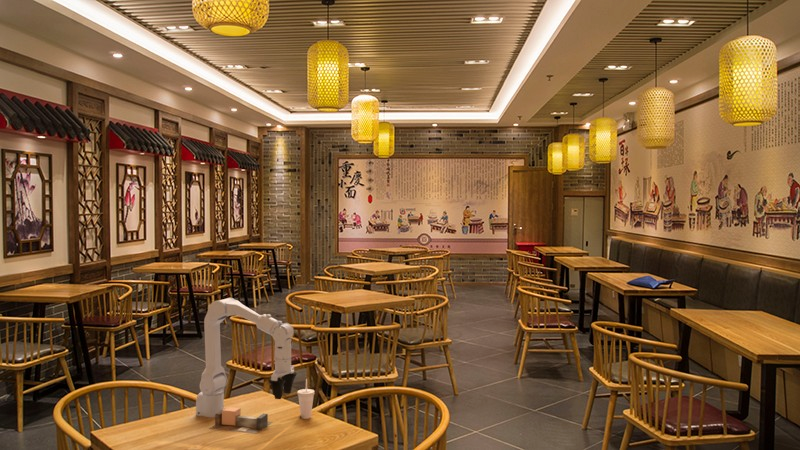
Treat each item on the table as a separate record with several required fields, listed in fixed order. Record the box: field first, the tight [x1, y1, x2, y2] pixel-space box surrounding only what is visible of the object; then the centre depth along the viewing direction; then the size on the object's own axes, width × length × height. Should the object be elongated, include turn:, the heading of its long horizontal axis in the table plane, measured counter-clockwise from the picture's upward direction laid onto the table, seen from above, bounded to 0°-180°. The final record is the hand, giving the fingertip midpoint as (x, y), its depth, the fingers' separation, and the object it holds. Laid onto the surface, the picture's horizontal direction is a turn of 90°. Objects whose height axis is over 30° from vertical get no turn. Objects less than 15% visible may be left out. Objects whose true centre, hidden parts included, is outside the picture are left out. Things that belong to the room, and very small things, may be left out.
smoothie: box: [296, 378, 315, 420], centre depth 224 cm, size 6×6×14 cm
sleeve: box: [222, 406, 241, 426], centre depth 213 cm, size 5×4×5 cm
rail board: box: [208, 410, 273, 435], centre depth 212 cm, size 18×12×5 cm, turn 75°
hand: (282, 395), depth 217 cm, fingers open, 7 cm apart
